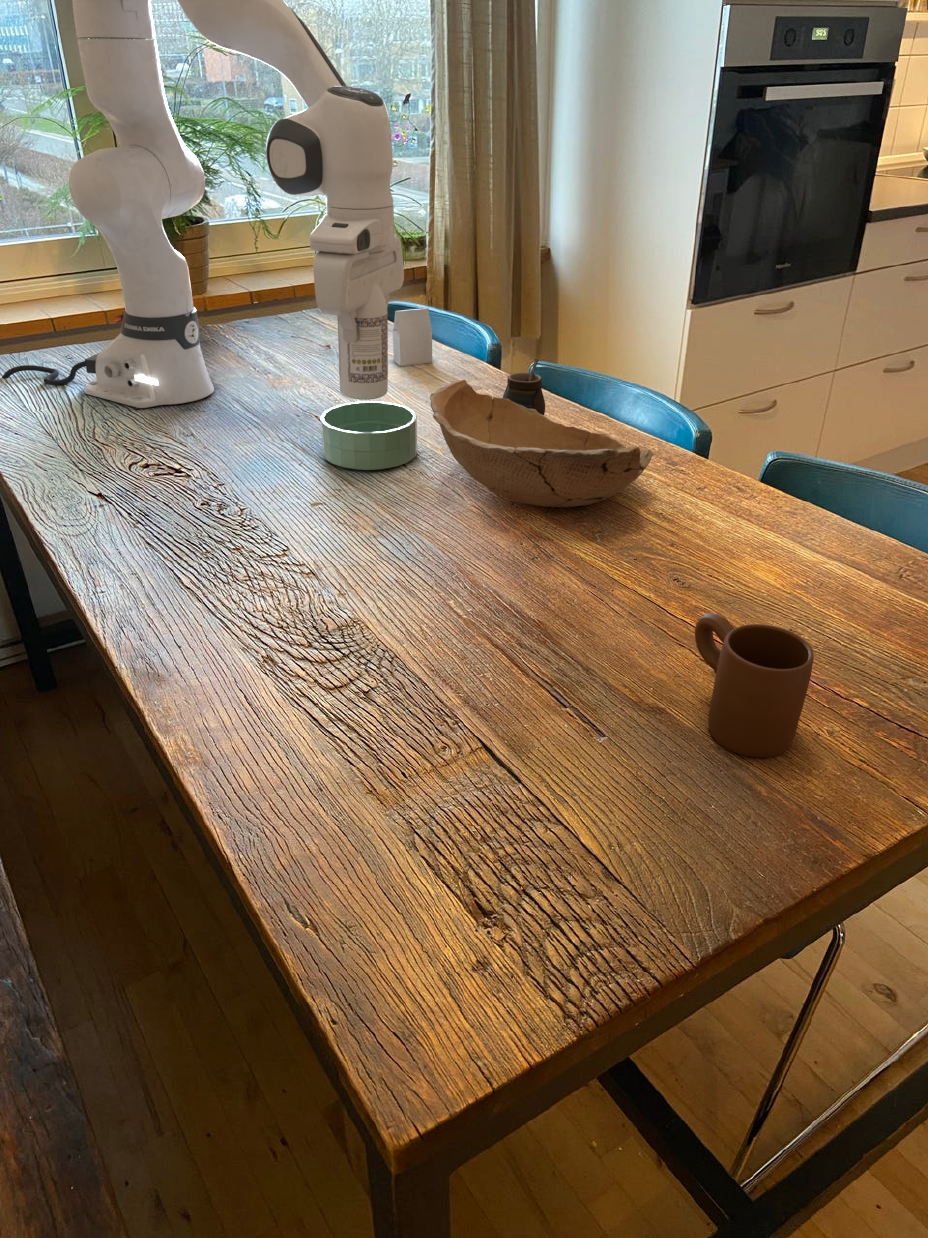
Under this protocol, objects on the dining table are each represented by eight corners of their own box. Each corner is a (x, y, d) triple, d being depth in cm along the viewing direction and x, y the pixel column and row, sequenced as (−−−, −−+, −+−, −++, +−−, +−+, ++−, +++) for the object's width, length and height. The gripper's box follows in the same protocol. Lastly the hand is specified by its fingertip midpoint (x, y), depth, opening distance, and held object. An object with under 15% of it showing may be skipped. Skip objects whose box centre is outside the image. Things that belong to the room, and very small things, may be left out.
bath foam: (397, 395, 133) (397, 249, 122) (357, 403, 129) (354, 253, 118) (370, 382, 137) (368, 241, 127) (330, 390, 133) (325, 245, 123)
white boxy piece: (432, 362, 180) (432, 310, 175) (400, 366, 178) (399, 313, 172) (424, 357, 183) (424, 306, 178) (393, 361, 180) (392, 308, 175)
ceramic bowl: (671, 461, 133) (678, 364, 123) (614, 569, 114) (617, 465, 105) (483, 433, 144) (475, 342, 134) (403, 527, 125) (388, 430, 116)
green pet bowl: (306, 464, 134) (303, 425, 131) (349, 433, 145) (348, 396, 142) (393, 478, 130) (392, 438, 127) (430, 446, 141) (430, 408, 138)
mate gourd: (493, 428, 148) (495, 367, 143) (509, 414, 154) (511, 355, 149) (535, 435, 146) (539, 373, 141) (549, 420, 152) (553, 360, 147)
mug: (656, 698, 86) (670, 612, 81) (716, 675, 90) (733, 592, 85) (748, 772, 78) (769, 681, 73) (811, 744, 81) (836, 656, 76)
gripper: (373, 216, 130) (376, 315, 138) (302, 238, 114) (310, 349, 121) (414, 219, 129) (415, 319, 136) (347, 241, 112) (352, 354, 119)
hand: (365, 334), depth 128 cm, fingers closed on bath foam, 7 cm apart
